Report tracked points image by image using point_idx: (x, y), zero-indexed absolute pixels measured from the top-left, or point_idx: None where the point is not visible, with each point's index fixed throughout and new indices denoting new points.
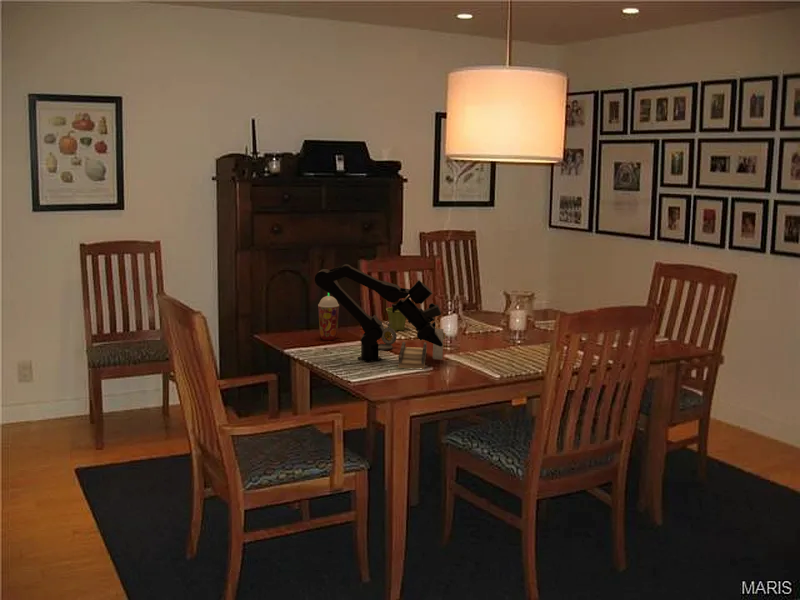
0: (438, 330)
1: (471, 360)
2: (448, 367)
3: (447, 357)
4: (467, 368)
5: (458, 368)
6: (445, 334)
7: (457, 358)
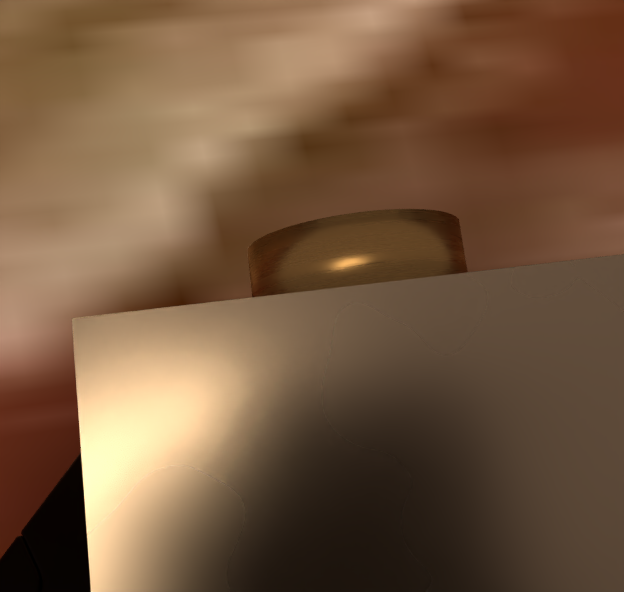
0: (457, 506)
1: (173, 3)
2: (584, 239)
3: (77, 314)
4: (563, 19)
5: (594, 118)
6: (451, 215)
7: (106, 179)
